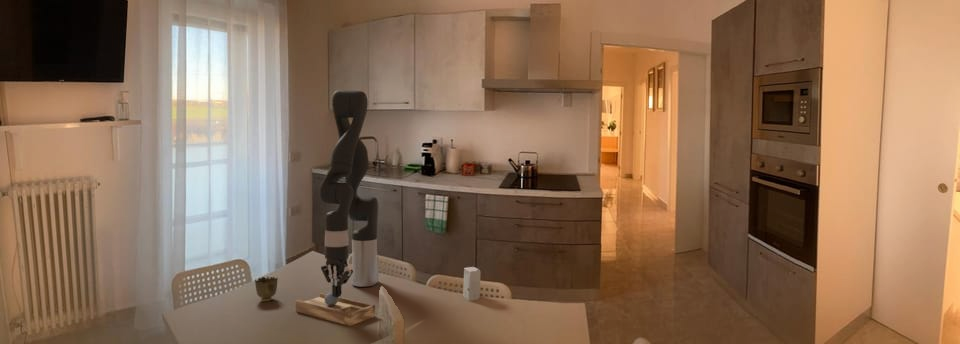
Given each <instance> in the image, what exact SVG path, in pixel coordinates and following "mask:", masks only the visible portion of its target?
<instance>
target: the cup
mask: <svg viewBox="0 0 960 344" xmlns="http://www.w3.org/2000/svg"><path fill="white" fill-rule="evenodd" d="M278 279H279V278H278V277H275V276H271V277H269V276H267V277H265V276H262V277H258V280H257V279H254V282H255V283H254V284H255V290H256V294H257V296H258V297H259V298H260V300H261V302H262V303H268V302H272V300H273V296H275V295H276V293H277V288H278Z"/></svg>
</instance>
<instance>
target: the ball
mask: <svg viewBox="0 0 960 344" xmlns="http://www.w3.org/2000/svg"><path fill="white" fill-rule="evenodd" d="M325 294H326V296H325V303H326V304H327V305H329V306H333V305H335V304H336V303H337V302H338V297H333V294H332V291H330V292H327V293H325Z"/></svg>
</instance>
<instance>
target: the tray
mask: <svg viewBox="0 0 960 344" xmlns="http://www.w3.org/2000/svg"><path fill="white" fill-rule="evenodd" d="M326 294H327V293H324V292H320V293H319V296H317V297H315V298H310V299H307V300H304V301H303V300H299V299H296V300H295V312H297V313H300V314H304V315H307V316H308V315H309V316H312V317H315V318H319V319H321V320H327V321H331V322H334V323H337V324H342V325H345V326H349V327H351V326H354V325H356V324H359V323H361V322H364V321H367V320H369V319H372V318H374V317H376V305H375V304H371V303H367V302H363V301H358V300H354V299H350V298H347V297H346V298H345V297H343V296H342V297H341V296H339V297H338V302H337V303H336V304H335V305H333V306H329V305H327V304H326V303H325V296H326Z"/></svg>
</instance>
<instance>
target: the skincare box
mask: <svg viewBox="0 0 960 344" xmlns="http://www.w3.org/2000/svg"><path fill="white" fill-rule="evenodd" d="M481 273H482V272H481V270H480V269H479V268H477V267H475V266H468V267H464V268H463V287H462V289H463V290H462V295H463V297H464V298H465V299H466V301H469V302H470V301H476V300H477V301H478V300H480V295H481V294H480V292H481V291H480V290H481Z"/></svg>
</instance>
